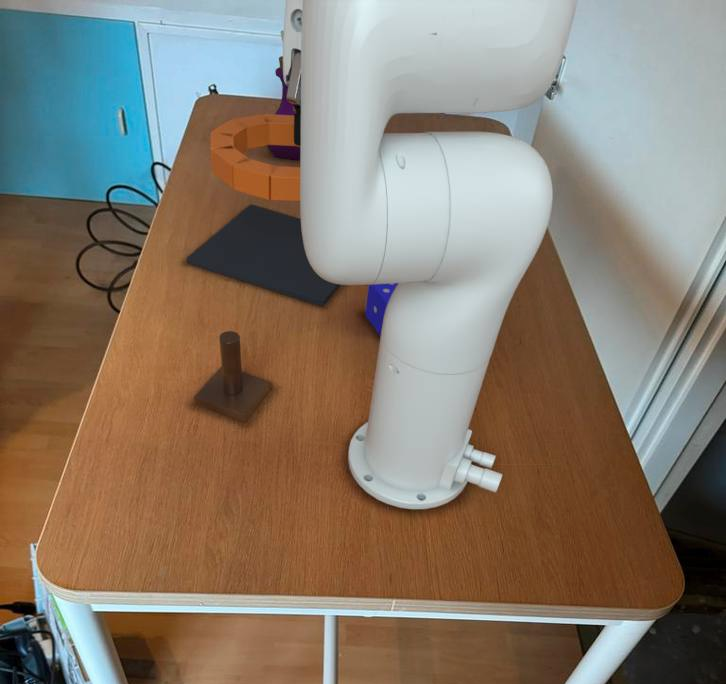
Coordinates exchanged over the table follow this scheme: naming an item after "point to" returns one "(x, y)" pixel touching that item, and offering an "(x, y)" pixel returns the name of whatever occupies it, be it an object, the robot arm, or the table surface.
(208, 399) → the stand
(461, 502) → the table surface
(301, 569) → the table surface
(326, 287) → the mat
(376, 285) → the die
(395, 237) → the robot arm
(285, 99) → the perfume bottle
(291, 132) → the ring
